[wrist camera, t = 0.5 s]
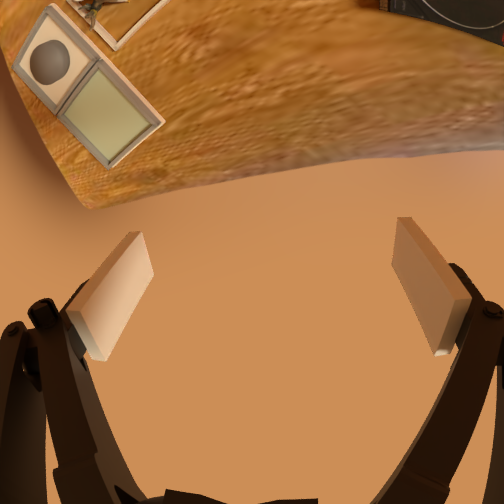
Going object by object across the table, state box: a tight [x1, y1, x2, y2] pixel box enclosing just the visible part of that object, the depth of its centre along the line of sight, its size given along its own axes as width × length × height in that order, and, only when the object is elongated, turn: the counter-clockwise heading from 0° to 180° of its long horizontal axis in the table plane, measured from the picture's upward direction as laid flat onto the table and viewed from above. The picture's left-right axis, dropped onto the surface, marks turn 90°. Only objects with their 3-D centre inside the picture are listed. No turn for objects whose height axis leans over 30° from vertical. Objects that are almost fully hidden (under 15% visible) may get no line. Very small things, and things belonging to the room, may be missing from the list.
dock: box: [11, 3, 166, 170], centre depth 36 cm, size 27×13×3 cm, turn 36°
